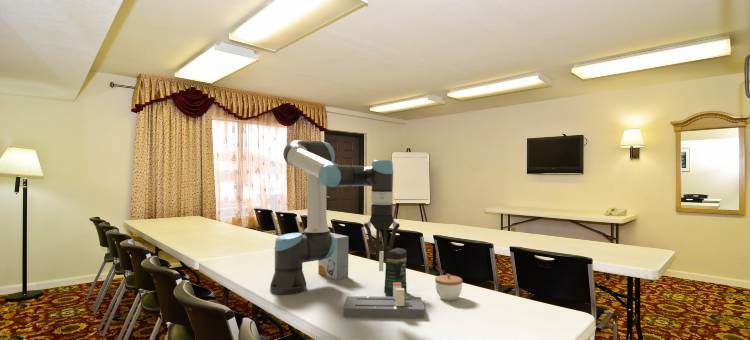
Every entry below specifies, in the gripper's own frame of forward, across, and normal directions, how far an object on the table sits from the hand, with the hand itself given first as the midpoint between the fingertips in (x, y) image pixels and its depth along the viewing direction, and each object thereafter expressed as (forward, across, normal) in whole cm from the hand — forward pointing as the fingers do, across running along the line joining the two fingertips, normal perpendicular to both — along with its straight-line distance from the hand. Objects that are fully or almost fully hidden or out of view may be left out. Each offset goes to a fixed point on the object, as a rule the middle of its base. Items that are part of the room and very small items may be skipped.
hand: (381, 270), depth 129 cm
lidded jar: (+16, +27, +18) cm, 36 cm away
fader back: (+12, +6, +7) cm, 15 cm away
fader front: (+12, +7, 0) cm, 14 cm away
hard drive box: (+16, -24, +50) cm, 58 cm away
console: (+15, +1, +3) cm, 16 cm away
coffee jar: (+16, +6, +23) cm, 29 cm away
